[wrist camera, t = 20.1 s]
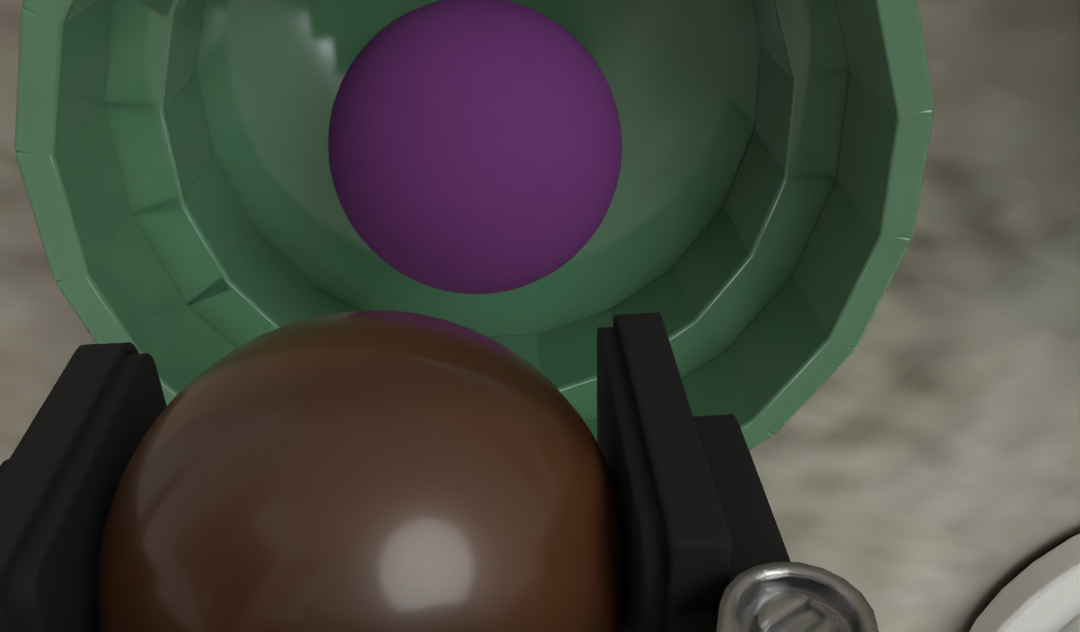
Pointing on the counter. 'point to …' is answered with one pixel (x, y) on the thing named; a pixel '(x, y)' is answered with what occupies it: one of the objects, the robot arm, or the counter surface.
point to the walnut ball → (366, 493)
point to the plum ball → (475, 145)
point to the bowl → (526, 312)
